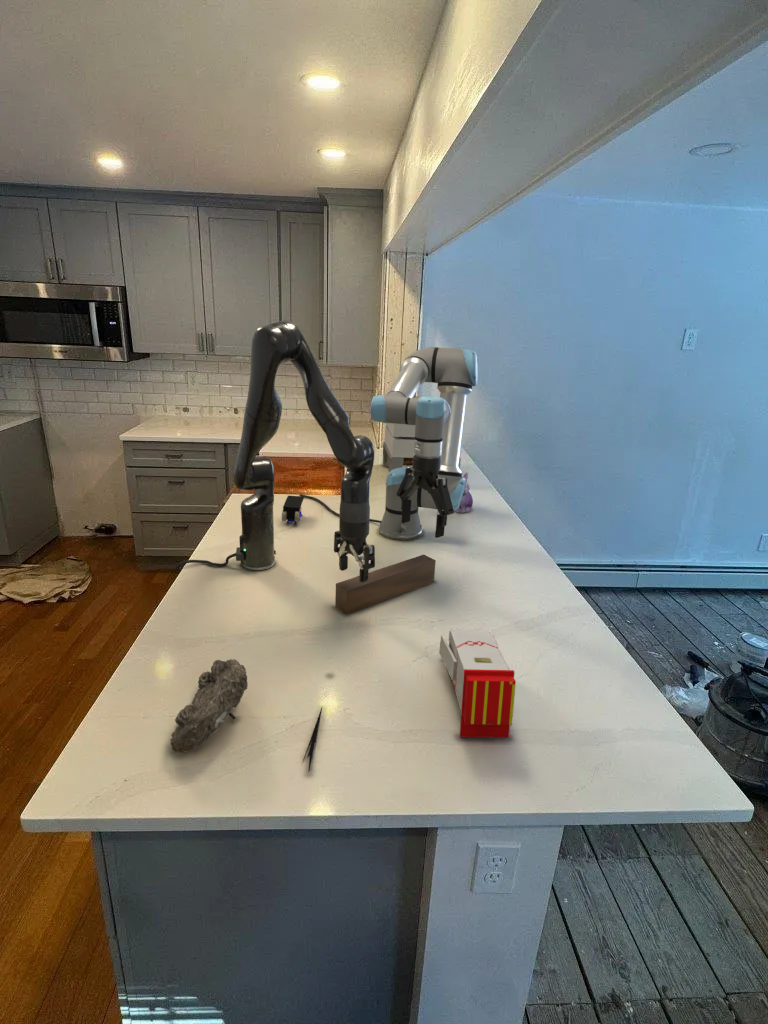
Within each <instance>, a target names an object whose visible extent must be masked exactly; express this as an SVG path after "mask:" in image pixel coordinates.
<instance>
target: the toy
mask: <svg viewBox="0 0 768 1024" xmlns="http://www.w3.org/2000/svg"><path fill="white" fill-rule="evenodd" d="M438 654H439V656H440V658H441V660H442V662H443V665H444V666H445V668H446V671H447V673H448V675H449V677H450V681H451V683H452V685H453V689H454V690H455V695H456V698H457V702H458V705H459V708H460V726H459V737H460V738H509V737H510V728H511V727H510V726H512V725H513V717H514V706H515V705H514V704H515V693H516V684H517V683H516V679H515V670H514V669H510V667H509V666H508V663H507V662H506V660H505V658H504V655H503V654H502V652H501V650H500V648H499V644H498V642H497V638H496V635H495V634H492V632H491V631H490V629H467V628H466V629H465V628H463V629H461V628H460V629H459V628H450V629H449V631H448V641H447V639H446V638H445V636H444V634H443V635H442V634H441V635H440V641H439V651H438Z"/></svg>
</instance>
